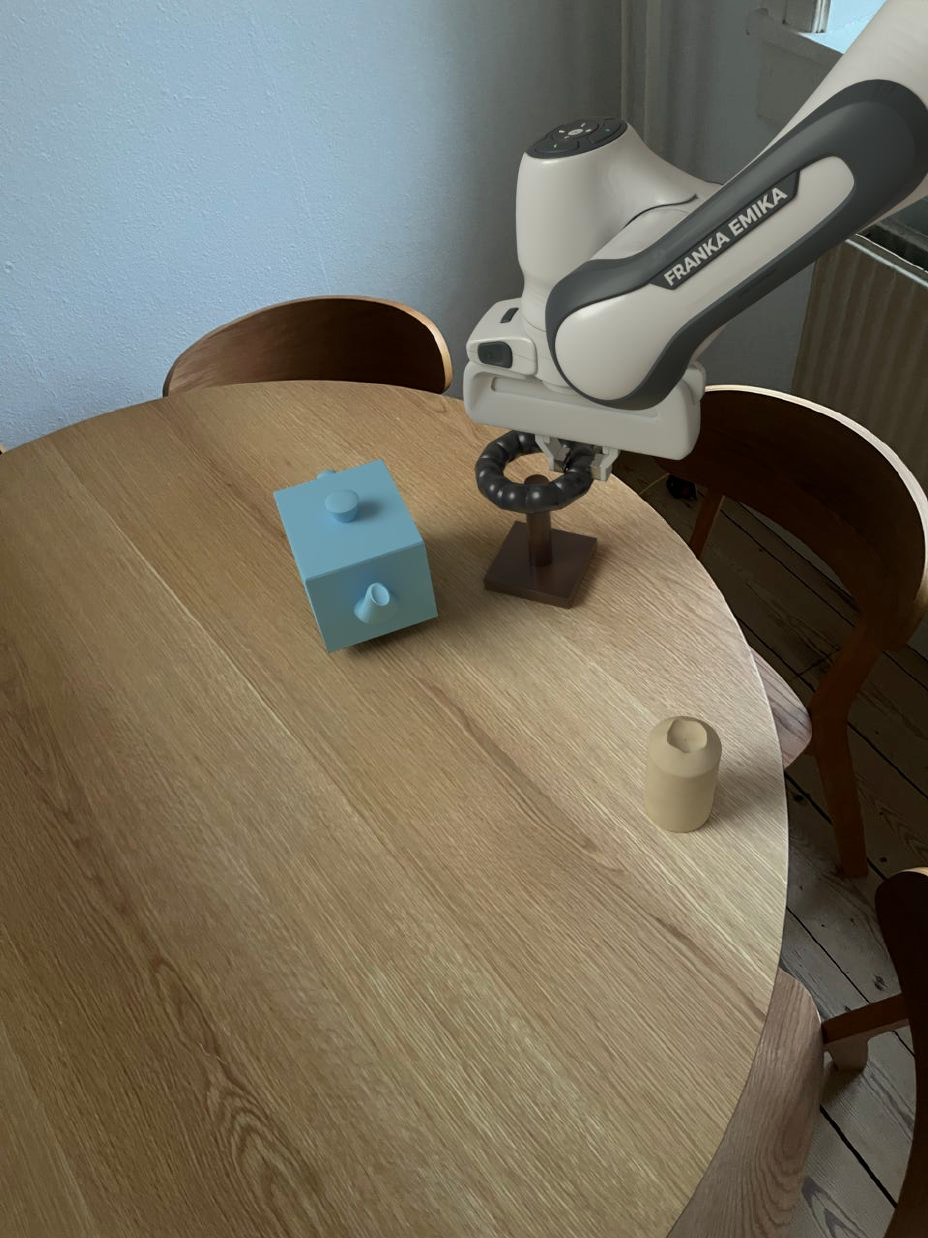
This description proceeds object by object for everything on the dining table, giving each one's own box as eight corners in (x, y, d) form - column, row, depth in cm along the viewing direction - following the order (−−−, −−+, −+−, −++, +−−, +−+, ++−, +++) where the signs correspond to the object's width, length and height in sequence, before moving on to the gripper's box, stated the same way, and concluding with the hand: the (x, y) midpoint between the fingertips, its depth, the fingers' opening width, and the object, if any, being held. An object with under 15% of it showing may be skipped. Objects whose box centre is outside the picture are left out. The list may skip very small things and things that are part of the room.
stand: (597, 548, 100) (597, 461, 91) (568, 609, 95) (566, 523, 86) (516, 530, 103) (509, 444, 94) (484, 589, 98) (473, 503, 89)
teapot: (294, 559, 103) (261, 458, 93) (392, 528, 105) (371, 425, 95) (348, 712, 89) (316, 613, 79) (461, 672, 91) (444, 570, 80)
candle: (659, 842, 77) (667, 775, 70) (632, 786, 81) (636, 716, 73) (723, 821, 78) (737, 752, 70) (693, 767, 81) (703, 696, 74)
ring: (613, 451, 91) (613, 428, 89) (574, 528, 84) (572, 506, 82) (504, 434, 95) (501, 413, 93) (458, 507, 88) (454, 485, 87)
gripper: (718, 334, 75) (703, 471, 85) (477, 301, 82) (490, 432, 92) (698, 380, 71) (684, 518, 82) (447, 341, 78) (464, 473, 88)
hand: (580, 472), depth 87 cm, fingers closed on ring, 2 cm apart
